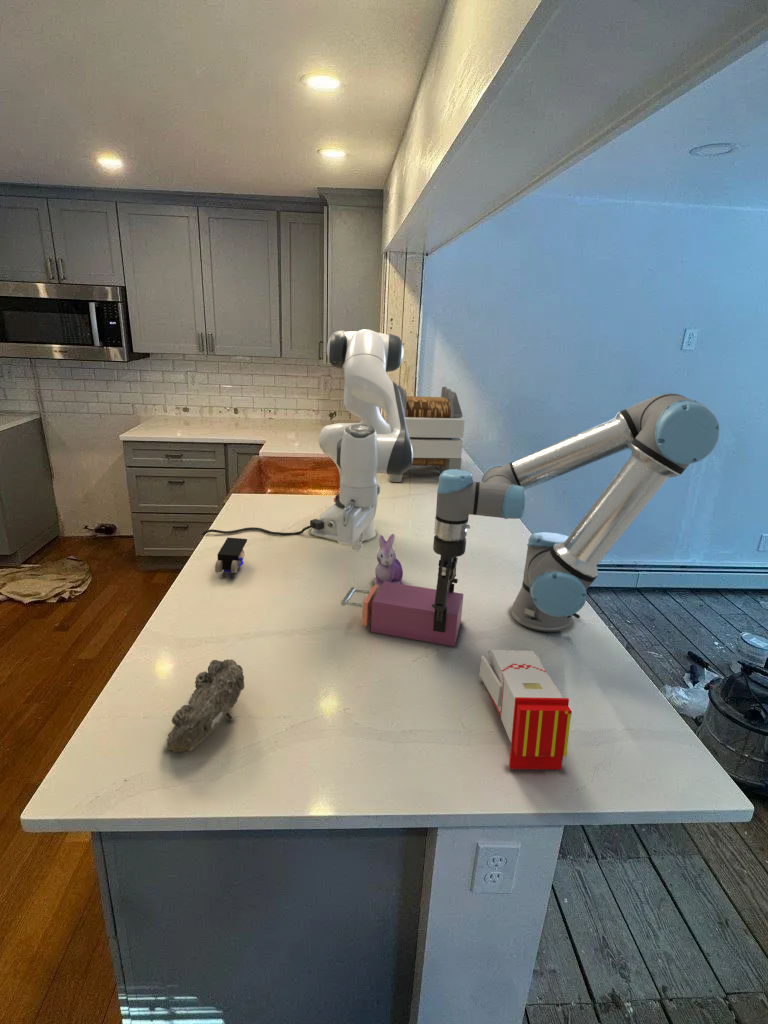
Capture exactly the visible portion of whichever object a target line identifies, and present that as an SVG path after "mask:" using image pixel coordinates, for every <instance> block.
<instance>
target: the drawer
mask: <svg viewBox="0 0 768 1024" xmlns="http://www.w3.org/2000/svg"><path fill="white" fill-rule="evenodd" d="M378 591H379V589H378V585H375V584H373V586H372V587H371V589H370V590H363V589H357V588H356V587H354V586H351V587H350V589H348V592H347V593H346V595H345V596H344V597H343V599H342V600H341V601H340V605H341V606H343V607H345V606H352V607H353V606H354V607H357V608H358V607H359V608H362V617H361V618H362V621H361V622H362V623H361V625H362V626H364V627H365V626H366V627H368V625H369V623H370V622H371V620H372V601H373V599H374V598H375V596H376V594H377V593H378ZM354 593H357V594H358V593H359V594H365V595H366V597H365V599H364V600H363V602H362V603H360V602H359V603H358V602H351V601H350V599H351V598H352V597H353V595H354Z"/></svg>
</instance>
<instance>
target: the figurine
mask: <svg viewBox="0 0 768 1024" xmlns="http://www.w3.org/2000/svg"><path fill="white" fill-rule="evenodd" d="M395 537H396V536H395V534H394V533H392V534H390V536H389V537H388V539H387V540H386V539H385V537H384V536H383V535H382V534H380V535H379V536H378V543H379V544H378V545H379V547H378V550H377V553H376V561H377V562H378V563H377V564H376V566H375V570H374V574H375V575H374V576H375V577H374V581H373V583H374V585H378V590H379V589H380V588H381V586H382V584H383V582H384V581H385V582H391V583H398V584H402V582H403V577H404V570H403V565H402V564H401V561H400V560H399V559H398V558H397V554H396V552H395V549H394V543H395Z"/></svg>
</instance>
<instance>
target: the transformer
mask: <svg viewBox="0 0 768 1024" xmlns="http://www.w3.org/2000/svg"><path fill="white" fill-rule="evenodd" d="M397 386H398V388H399V391H400V395H401V400H402V404H403V410H404V415H405V420H406V425H407V430H408V434H409V438H410V442H411V445H412V448H413V462H412V466H413V467H415V466H416V467H417V466H418V467H436V468H437V470H438V469H439V473H440V474H441V473H442V472H443V471H445V470H450V469H459V470H462V461H463V460H462V453H463V442H464V441H463V440H462V439H463V438H464V431H465V430H464V429H465V419H464V418H463V411H462V408H461V405H460V402H459V398H458V395H457V392H455V391H453V390H452V389H451V388H447V386H442V387H441V392H440V393H441V394H440V396H415V395H414V396H413V395H412V396H411V395H407V394H408V393H407V390H406V389H404V388H403V387H402V385H399V384H397ZM385 414H386V415H385V421H386V422H387V423H388V424H389V418H388V414H387V413H386V412H385ZM389 425H390V424H389ZM412 466H411V467H412ZM403 475H404V473H403V474H402V475H400V476H399V475H391V474H388V476H389V477H388V478H389V480H390V482H391V483H402V482H403Z"/></svg>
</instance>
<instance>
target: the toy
mask: <svg viewBox="0 0 768 1024" xmlns="http://www.w3.org/2000/svg"><path fill="white" fill-rule="evenodd" d="M480 658H481V659H480V667H479V677H480V679H481V681H482V682H483V684H484V686H485V687H486V690H487V692H488V694H489V696H490V699H491V701H492V702H493V704H494V707H495V709H496V711H497V713H498V715H499V717H500V720H501V722H502V725H503V727H504V730H505V732H506V734H507V737H508V739H509V742H510V749H509V750H510V751H509V753H510V754H509V761H508V762H509V764H508V769H509V770H559V771H560V770H561V771H562V767H563V759H564V758H567V755H568V747H569V738H570V737H569V736H570V729H571V728H570V727H571V721H572V710H571V708H570V706H569V704H570V699H569V697H563V696H562V694H561V692H560V691H559V689H558V687H557V686H556V684H555V683H554V681H553V680H552V678H551V676H550V675H549V674H548V672H547V670H546V669H545V667H544V666H543V664H542V662H541V659H540V657H539V655H537V654H536V653H535V652H534V650H514V649H513V650H512V649H491V650H487V658H486V657H485V656H484V655H481V657H480Z"/></svg>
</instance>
